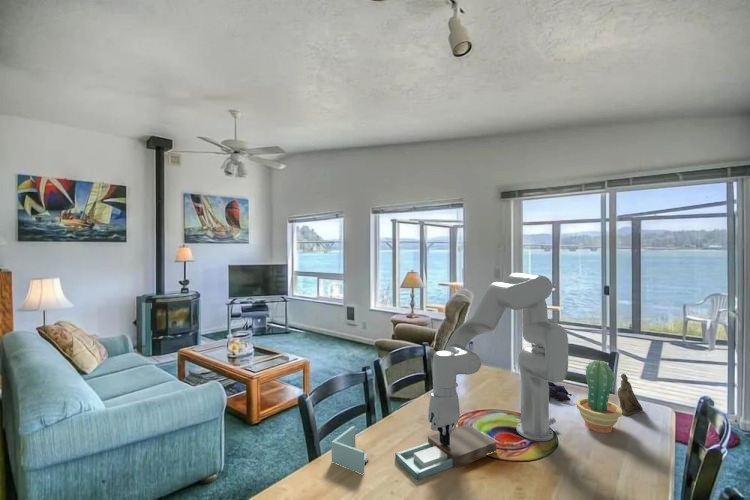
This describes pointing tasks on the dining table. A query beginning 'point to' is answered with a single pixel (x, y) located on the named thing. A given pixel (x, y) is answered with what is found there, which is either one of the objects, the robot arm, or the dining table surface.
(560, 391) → the crystal
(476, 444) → the wooden drawer case
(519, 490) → the dining table surface
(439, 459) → the tile
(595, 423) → the potted cactus
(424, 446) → the tray
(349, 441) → the l-shaped corner panel
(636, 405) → the brown carved statuette
